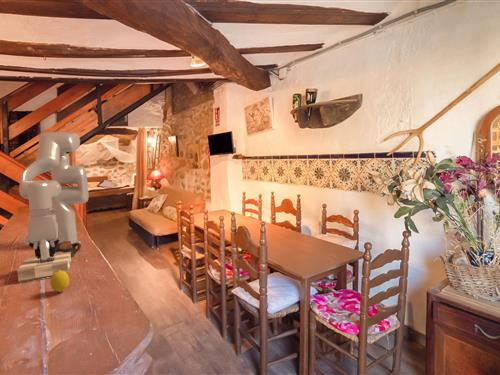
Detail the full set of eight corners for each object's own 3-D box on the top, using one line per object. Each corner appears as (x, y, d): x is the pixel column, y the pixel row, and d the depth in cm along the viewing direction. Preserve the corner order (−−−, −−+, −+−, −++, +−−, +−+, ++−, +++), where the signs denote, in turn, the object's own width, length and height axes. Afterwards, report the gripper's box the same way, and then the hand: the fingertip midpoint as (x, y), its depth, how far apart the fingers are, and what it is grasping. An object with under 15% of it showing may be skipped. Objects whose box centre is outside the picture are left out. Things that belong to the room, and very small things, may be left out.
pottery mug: (53, 262, 136) (48, 245, 138) (59, 264, 144) (54, 249, 146) (81, 251, 141) (76, 235, 142) (86, 255, 149) (81, 239, 151)
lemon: (66, 287, 107) (64, 265, 107) (72, 291, 104) (70, 269, 103) (48, 293, 103) (46, 270, 102) (54, 297, 100) (52, 274, 99)
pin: (41, 266, 123) (38, 237, 122) (53, 264, 125) (50, 236, 124) (40, 269, 120) (37, 240, 118) (51, 267, 121) (49, 238, 120)
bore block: (27, 269, 126) (26, 258, 126) (71, 262, 133) (70, 251, 133) (18, 283, 112) (17, 270, 111) (68, 274, 119) (67, 262, 119)
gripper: (66, 209, 127) (70, 251, 129) (18, 213, 120) (22, 257, 121) (65, 212, 120) (68, 256, 122) (13, 216, 113) (18, 263, 115)
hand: (45, 256), depth 122 cm, fingers closed on pin, 4 cm apart
